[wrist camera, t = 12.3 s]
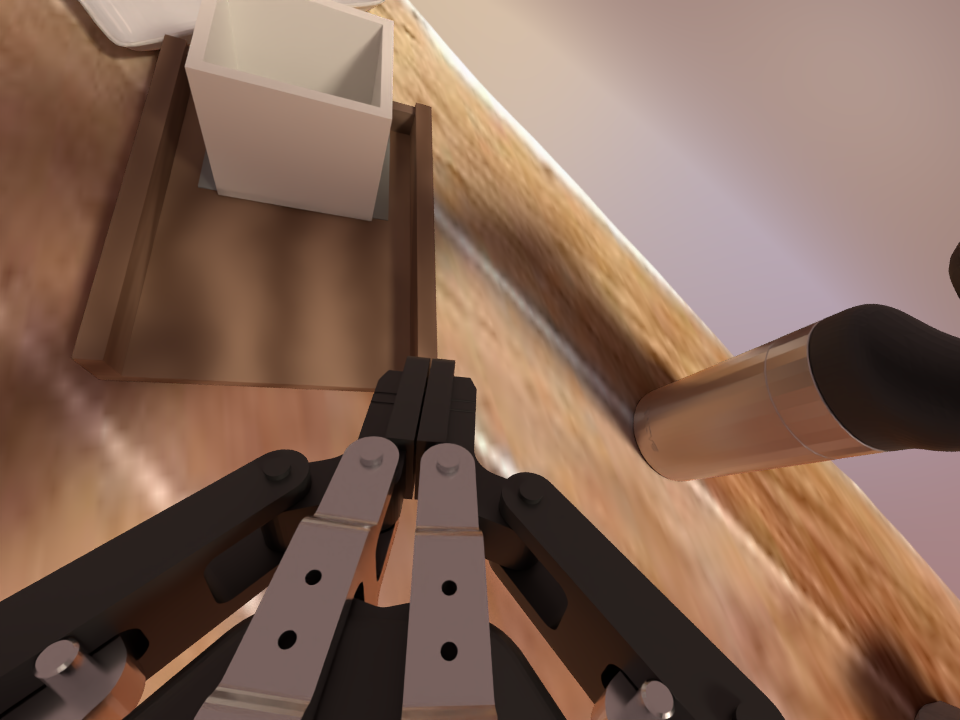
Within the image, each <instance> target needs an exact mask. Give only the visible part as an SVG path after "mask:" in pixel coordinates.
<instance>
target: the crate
mask: <svg viewBox="0 0 960 720" xmlns="http://www.w3.org/2000/svg"><path fill="white" fill-rule="evenodd" d="M393 45H394V21H392V20H389V19H386V18H383V17H380V16H377V15H374V14H371V13H368V12H365V11H362V10H359V9H356V8H353V7H350V6H347V5H344V4H341V3H338V2H335V1H332V0H202V1H201V5H200V9H199V13H198V17H197V20H196V24H195V28H194V32H193V36H192V40H191V44H190V48H189V52H188V56H187V60H186V63H185V70H186V74H187V77H188V81H189V85H190V89H191V93H192V96H193V100H194V104H195V108H196V112H197V116H198V119H199V123H200V127H201V131H202V135H203V139H204V142H205V146H206V150H207V154H208V158H209V161H210V165H211V169H212V173H213V177H214V181H215V184H216V188H217V192H218V195H223V196H229V197H235V198H240V199H246V200H252V201H258V202H263V203H269V204H275V205H281V206H286V207H292V208H298V209H304V210H309V211H315V212H321V213H327V214H332V215H338V216H344V217H350V218H355V219H361V220H367V221H372V216H373V211H374V206H375V201H376V196H377V191H378V187H379V182H380V177H381V172H382V167H383V162H384V157H385V152H386V147H387V142H388V137H389V133H390V128H391V123H392V100H393Z"/></svg>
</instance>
